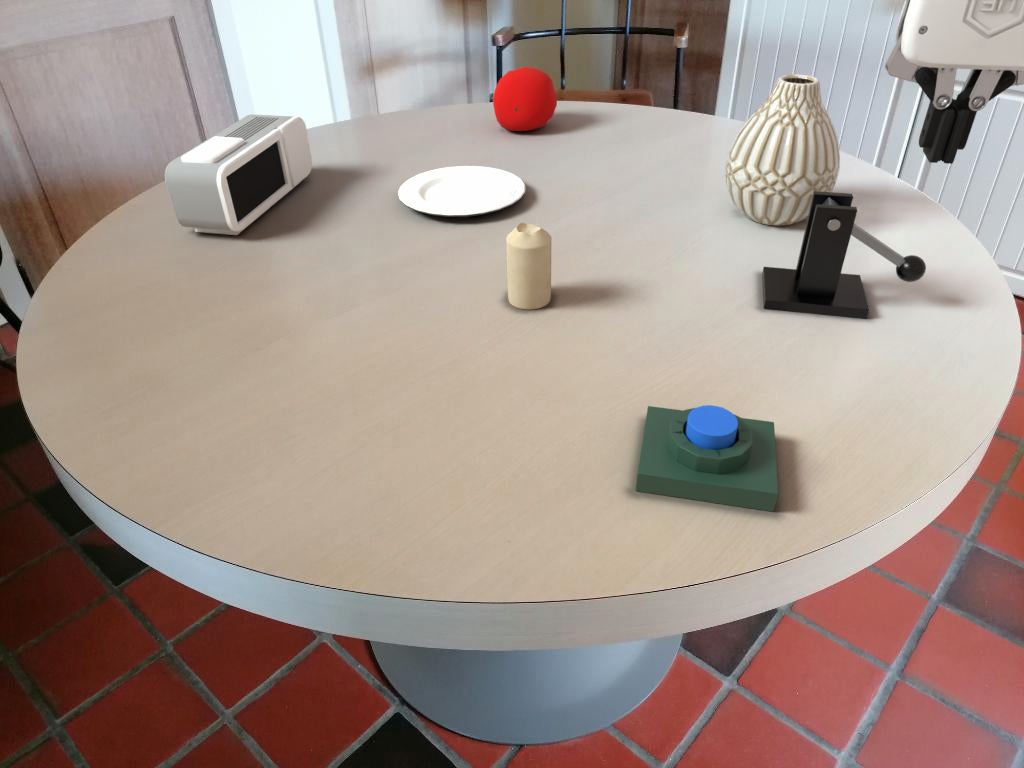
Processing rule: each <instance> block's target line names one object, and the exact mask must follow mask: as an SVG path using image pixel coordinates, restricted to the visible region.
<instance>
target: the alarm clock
mask: <svg viewBox="0 0 1024 768" xmlns="http://www.w3.org/2000/svg"><path fill="white" fill-rule="evenodd" d="M312 167H313V157H312V153H311V147H310V140H309V135H308V130H307V125H306V123H305V121H304V119H303V118H302V117H301V116H293V115H291V116H288V115H272V114H271V115H269V114H247V115H246V116H244V117H242V118H240V119H239V120H237V121H236V122H234V123H233V124H230V125H229V126H228V127H226V128H224V129H222V130H220V131H219V132H217V133H216V134H214V135H212V136H211V137H209V138H207V139H206V140H204V141H202V142H201V143H199V144H197V145H196V146H194V147H192V148H190V149H189V150H188V151H186V152H184V153H183V154H181V155H179V156H177V157H176V158H174V159H172V160H170V162H169V163H168V164H167V165H166V167H165V170H164V180H165V185H166V188H167V192H168V195H169V199H170V202H171V205H172V208H173V212H174V215H175V218H176V220H177V222H178V223H179V224H180V225H181V226H182V227H184V228H193V229H194V231H195V232H196V233H205V234H217V235H220V234H221V235H232V236H238V235H240V233H242V232H243V231H244V230H245V229H247V227H249V226H250V225H251V224H252V223H253V222H254V221H256V220H257V219H258V218H260V217H261V216H263V214H265V212H267V211H268V210H269V209H271V207H273V206H274V205H275V204H276V203H277V202H278V201H280V200H281V199H282V198H283V197H285V196H286V195H287V194H288V193H290V191H292V190H293V189H294V188H295V187H297V186H298V185H299V184H300V183H301V182H302V181H303V180H305V178H307V177H308V176H309V175H310V174H311V171H312V169H313V168H312Z"/></svg>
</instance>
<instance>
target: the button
mask: <svg viewBox="0 0 1024 768" xmlns="http://www.w3.org/2000/svg"><path fill="white" fill-rule="evenodd" d="M694 408H695V409H693V410H692V411H691V412H690V413H689V415H688V420H687V427H686V435H687V438H688V439H689V440H690V442H692V443H693V444H695V445H697V446H699V447H701V448H704V449H711V450H721V449H725V448H728V447H730V446H731V445H732V444H733V443H734V441H735V438H736V433H737V428H738V421H737V418H736V417H735V415H736V414H734V413H733V412H731V411H729V410H728V409H726V408H724V407H723V406H718V405H713V404H712V405H711V404H708V405H700V406H697V407H694Z"/></svg>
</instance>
